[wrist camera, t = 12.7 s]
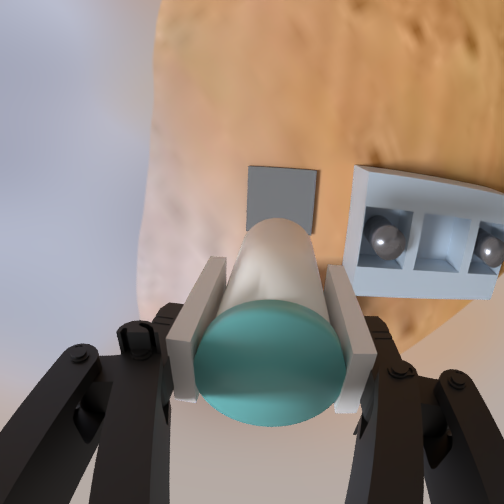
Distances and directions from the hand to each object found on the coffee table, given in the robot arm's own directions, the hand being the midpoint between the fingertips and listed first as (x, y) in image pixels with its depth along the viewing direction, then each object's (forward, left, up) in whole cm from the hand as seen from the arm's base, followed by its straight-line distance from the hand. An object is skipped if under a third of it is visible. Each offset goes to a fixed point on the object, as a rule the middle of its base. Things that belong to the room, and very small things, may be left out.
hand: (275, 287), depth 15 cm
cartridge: (0, 0, -5) cm, 5 cm away
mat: (0, 0, -20) cm, 20 cm away
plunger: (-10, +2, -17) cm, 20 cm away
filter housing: (-17, +1, -20) cm, 26 cm away
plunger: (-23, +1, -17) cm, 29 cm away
